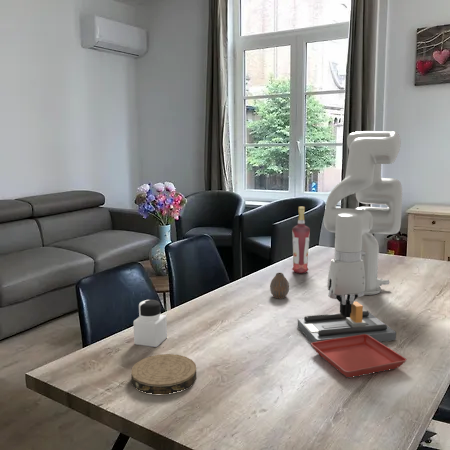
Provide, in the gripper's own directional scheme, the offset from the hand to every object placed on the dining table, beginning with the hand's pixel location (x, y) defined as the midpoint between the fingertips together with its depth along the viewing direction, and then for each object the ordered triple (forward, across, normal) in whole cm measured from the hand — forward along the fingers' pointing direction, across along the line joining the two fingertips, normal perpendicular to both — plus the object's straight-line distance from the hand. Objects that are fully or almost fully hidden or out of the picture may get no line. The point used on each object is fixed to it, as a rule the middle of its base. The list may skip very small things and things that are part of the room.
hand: (345, 315), depth 149 cm
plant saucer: (+6, +5, +18) cm, 19 cm away
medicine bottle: (+6, +57, -6) cm, 58 cm away
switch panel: (+6, 0, 0) cm, 6 cm away
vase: (+6, +9, -36) cm, 38 cm away
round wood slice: (+6, +55, +16) cm, 58 cm away
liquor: (+6, -8, -64) cm, 65 cm away
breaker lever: (+3, -3, 0) cm, 4 cm away
